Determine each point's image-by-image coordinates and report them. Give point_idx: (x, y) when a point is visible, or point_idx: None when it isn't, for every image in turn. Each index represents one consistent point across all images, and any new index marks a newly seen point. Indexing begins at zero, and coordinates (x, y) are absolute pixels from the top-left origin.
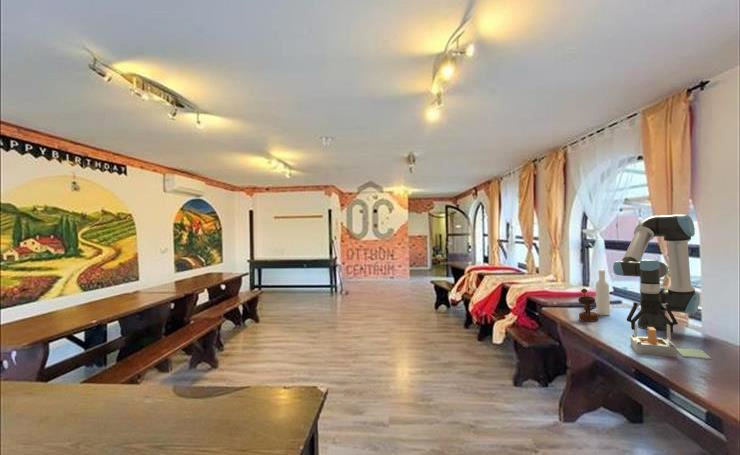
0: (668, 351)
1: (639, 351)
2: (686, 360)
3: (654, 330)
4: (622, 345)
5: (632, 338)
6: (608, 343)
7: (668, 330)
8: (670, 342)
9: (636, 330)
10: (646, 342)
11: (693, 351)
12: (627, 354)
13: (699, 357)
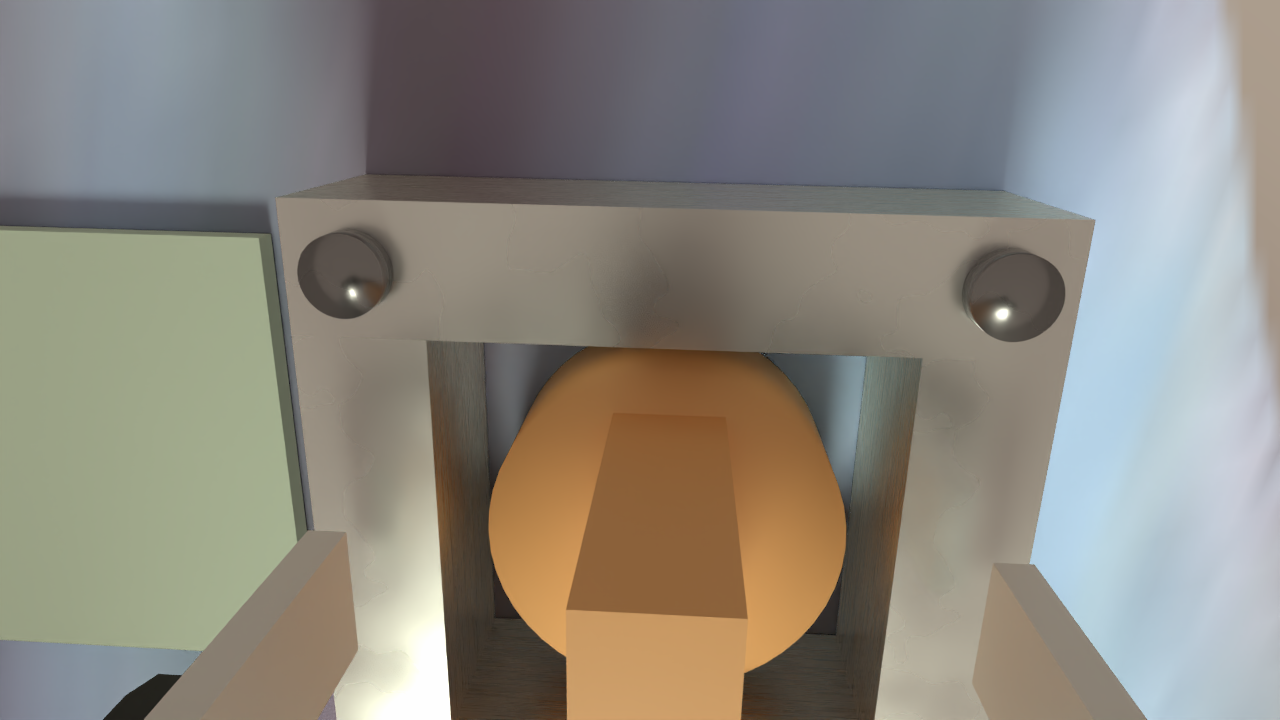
0: (461, 185)
1: (968, 197)
2: (239, 12)
3: (621, 602)
4: None
5: None
6: (1275, 710)
7: (223, 684)
8: None
9: (1082, 686)
10: (757, 574)
11: (82, 534)
12: (1205, 74)
13: (26, 231)
